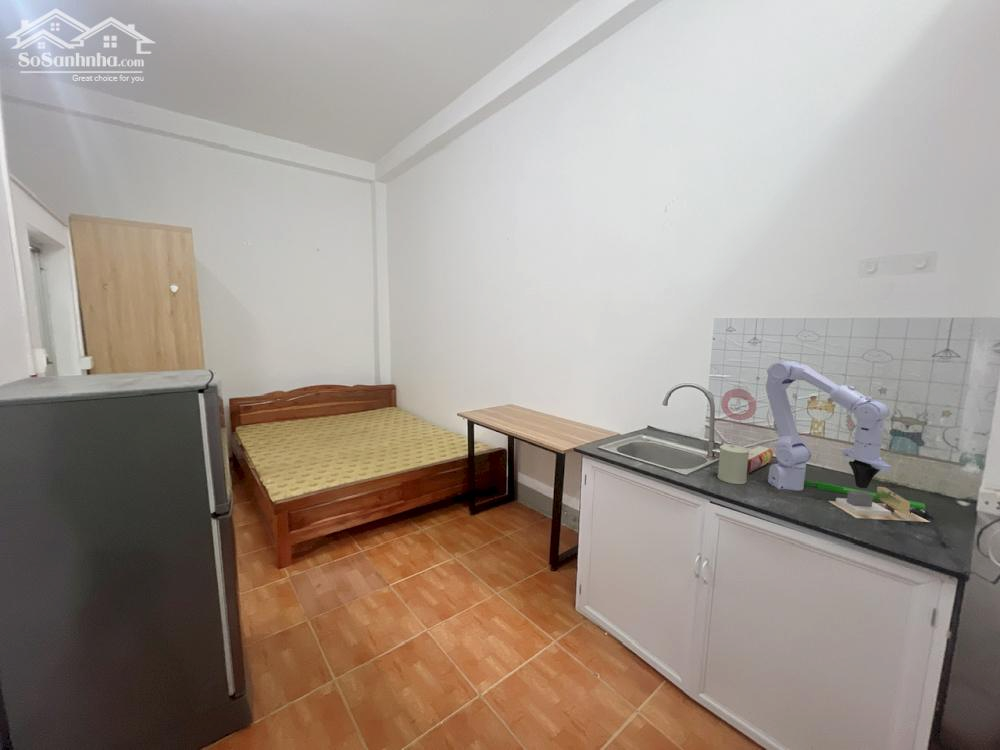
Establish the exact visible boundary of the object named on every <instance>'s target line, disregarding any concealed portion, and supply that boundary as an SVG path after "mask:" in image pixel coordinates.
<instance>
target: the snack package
mask: <svg viewBox="0 0 1000 750" xmlns="http://www.w3.org/2000/svg"><path fill="white" fill-rule="evenodd" d="M773 453H774V452H773V451H772V449H770V448H769V447H767V446H762V445H761V446H760V445H758V446H756V447H754V448H752V449H750V450H749V456H748V466H747V474H750V473H752V472H753V471H755V470H757V469H760V468H761V467H764V466H765V465H767V463H768V464H769V463H771V462H772V460H773V456H774V454H773Z"/></svg>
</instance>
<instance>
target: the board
mask: <svg viewBox="0 0 1000 750" xmlns="http://www.w3.org/2000/svg"><path fill="white" fill-rule="evenodd" d="M828 502H829V503H830V504H832V505H834V506H836V507H837V508H839V509H841V511H842V510H843V511H844V512H846V513H847V514H848V515H850V516H853V517H854V518H855V519H865V520H866V519H867V520H886V521H887V520H889V521H905V522H922V523H931V521H930V520H927V519H926V518H923V517H922V516H919V515H917V514H915V513H913V512H911V511H909V514H905V513H899V512H898V511H896V510H895V509H893V508H892V507H890V506H889V505H887V504H886V503H878V502H875V503H876V504H878V505H879V506H881V507H883V508H885V509H887V510H889V511H891V517H888V516H868V515H856V514H854V513H853V512H851V511H849V510H847V509H846V508H844V507H842V506H841V505H839V504H837V503H836V500H828ZM910 512H911V513H910Z"/></svg>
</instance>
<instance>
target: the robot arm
mask: <svg viewBox="0 0 1000 750" xmlns="http://www.w3.org/2000/svg"><path fill="white" fill-rule="evenodd" d="M766 373H767V378H766V379H767V380H766V383H765V390H766V395H767V398H768V400H769V405H770V408H771V412H772V416H773V419H774V423H775V424H774V425H775V426H776V430H777V434H778V439H777V441H776V443H775V447H776V451H775V458H776V460H777V461H778V463H774V464H773V463H772V464H771V465H770V467H769V470H768V479H767V483H768V484H770V485H771V486H773V487H774V488H776V489H778V490H789V491H790V490H791V491H803V490H804V487H805V485H804V480H805V478H806V469H807V462H809V461H810V460H811V458H812V452H811V450H810V448H809V447H808V446H807V444H806V442H805V440H804V439H803V437H801V436H800V435H799V432H798V429H797V428H798V427H797V425H796V422H795V417H794V414H793V411H792V407H791V404H790V401H789V397H788V393H787V389H788V388H789V387H790V386H791V384H792V383H794V382H796V381H805V382H806V383H808V384H810V385H812V386H813V387H816V388H818V389H820V390H821V391H824V393H825V392H826V393H828V394H829V397H830V400H831V401H832V402H835V404H838V405H839V406H840V407H843V408H845V409H846V410H848V411H849V412H851V413H853V415H854V417H855V419H856V426H855V433H854V434H855V435H854V439H853V440H854V442H853V447H852V449H847V448H844V449H842V456H843V457H848V458H851V459H853V461H852V460H851V461H848V465H849V466H850V468H851V470H852V473H853V477H854V482H855V485H856V487H857V488H860V489H868V487H869V485H870V483H871V481H872V480H873V478H874V477H875V476H876V475H877V474H878V473H879V472H881V473H891V470H892V465H890V464H888V463H886V462H885V461H884V460H883V457H880V456H881V450H882V449H881V448H882V444H883V443H882V441H883V433H884V425H885V419H887V418H888V417H889V416H890V409H889V407H888V405H887V404H886V403H884V402H883V401H882V400H876V399H875V400H873V397H871V396H870V395H869V396H866V395H864V394H862V393H860V392H859V391H857V390H855V389H856V387H855V386H853V385H846V384H842V385H838V384H836V383H835V382H833V381H832V380H830V379H829V378H827V377H825V376H824V375H822V374H820V373H819V372H817V371H816V370H814V369H813V368H811V367H810V366H809V365H807V364H805V363H802V362H801V361H798V360H789V361H775V362H773V363H772V364H771V365H770V366H769V368H768V369H767V370H766Z"/></svg>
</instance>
